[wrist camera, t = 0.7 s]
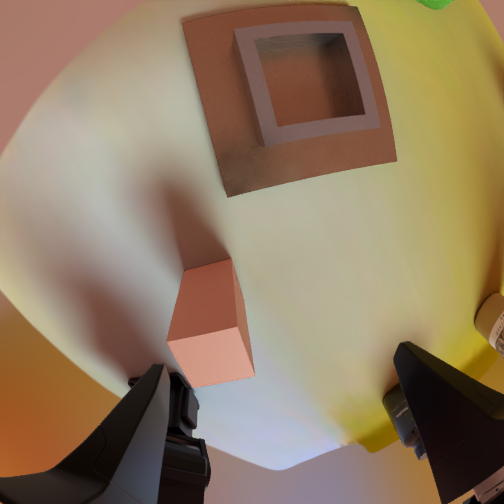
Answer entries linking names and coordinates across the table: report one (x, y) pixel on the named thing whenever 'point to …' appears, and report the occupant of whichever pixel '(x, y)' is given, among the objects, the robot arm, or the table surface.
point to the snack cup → (435, 3)
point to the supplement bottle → (403, 421)
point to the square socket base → (289, 93)
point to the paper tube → (492, 321)
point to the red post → (211, 326)
